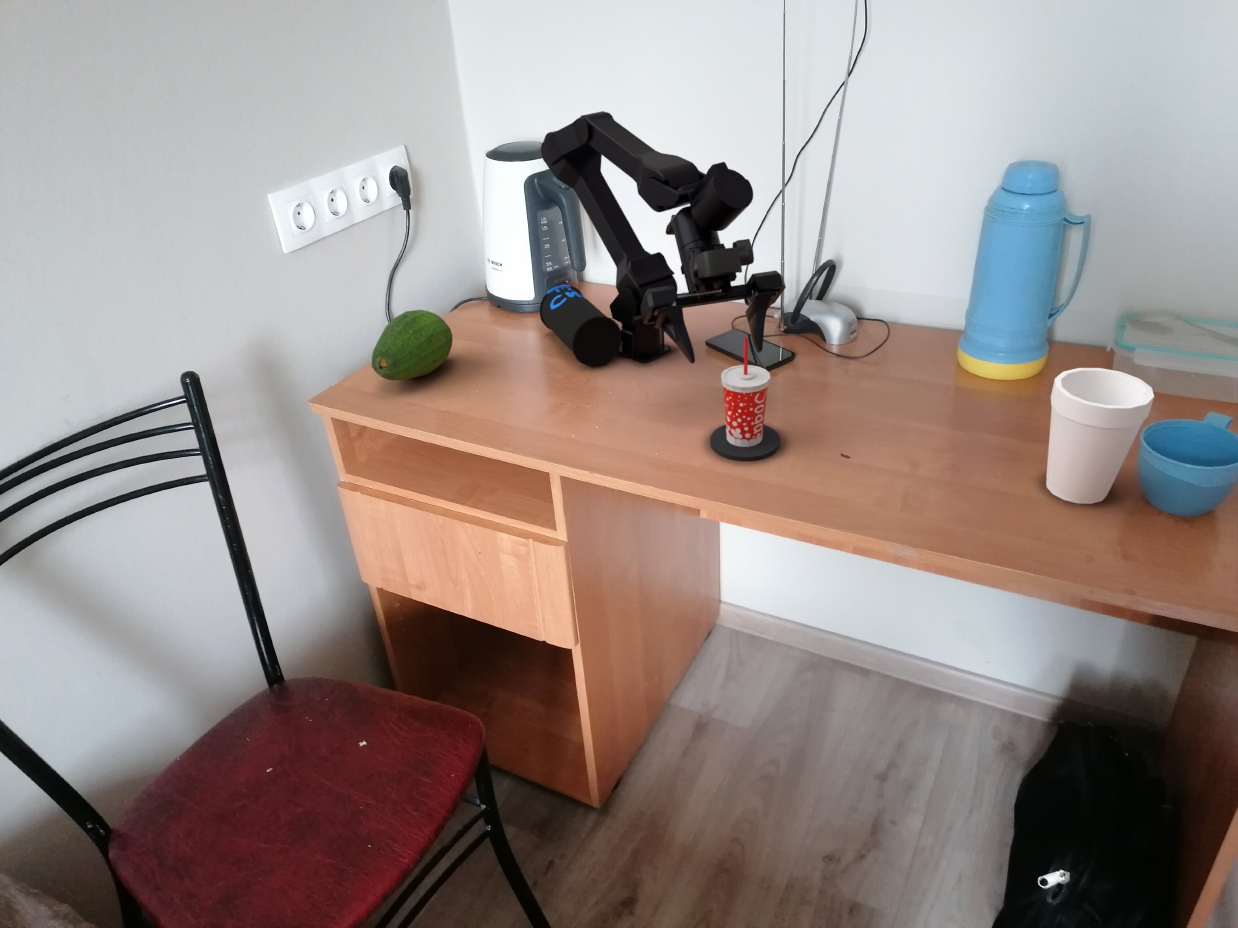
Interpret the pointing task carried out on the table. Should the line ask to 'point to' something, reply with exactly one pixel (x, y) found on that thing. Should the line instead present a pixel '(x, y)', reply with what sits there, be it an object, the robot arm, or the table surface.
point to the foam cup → (1092, 430)
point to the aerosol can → (580, 325)
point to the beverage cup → (745, 401)
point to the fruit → (412, 345)
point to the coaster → (755, 452)
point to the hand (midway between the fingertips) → (726, 357)
